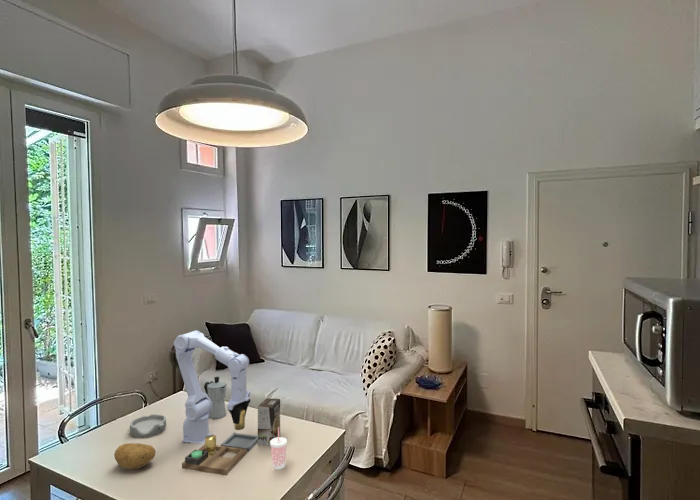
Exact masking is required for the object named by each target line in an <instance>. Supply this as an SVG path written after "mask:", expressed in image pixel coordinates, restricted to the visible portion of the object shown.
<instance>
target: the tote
mask: <svg viewBox="0 0 700 500" xmlns="http://www.w3.org/2000/svg"><path fill="white" fill-rule="evenodd" d="M257 444H258V435H254V434H247V433H239V432H233V433H232V434H231V435H230V436H229V437H228V438H226V439H225V440H224V441H223V442H222V443H221V444H220V446H226V447H234V448H241V449H247V453H249V451H251V450H252V448H254V447H255V445H257Z"/></svg>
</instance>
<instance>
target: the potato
mask: <svg viewBox="0 0 700 500" xmlns="http://www.w3.org/2000/svg"><path fill="white" fill-rule="evenodd" d="M156 453H157V451H156V449H155V448H154V446H152V445H150V444H145V443H133V442H130V443H129V442H128V443H123V444H121V445H119V446H118V447H117V448H116V450H115V452H114V454H113V455H114V460H115V462H116V463H117V465H118V466H120V467H121V468H124V469H128V470H136V469H139V468H143V467H145V466H146V465H148V464H149V463H150V462H151V461H152V460H153V459H154V458H155V456H156Z"/></svg>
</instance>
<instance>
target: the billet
mask: <svg viewBox="0 0 700 500" xmlns="http://www.w3.org/2000/svg"><path fill="white" fill-rule="evenodd" d="M233 424H234V423H233ZM245 427H246V416H245V409H244V408H242V410H241V413H240V421H239V424H234V430H236V431H241V430H244V429H245Z"/></svg>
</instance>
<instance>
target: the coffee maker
mask: <svg viewBox="0 0 700 500" xmlns="http://www.w3.org/2000/svg"><path fill="white" fill-rule="evenodd" d="M213 380H214V381H213ZM213 380H211V381H210V382H209V381H206V382H205V383H204V385H203V389H204V391H205V392H204V393H206V394H207V395H208V397H209V399H210V400H211V402H212V410H211V411H210V412H209V413H210V414H209V419H210V420H218V419H222V418H225V417H226V416H227V407H226V403H225V398H226V392H227V384H228V383H226V382H225V381H220V376H214V377H213Z"/></svg>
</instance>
